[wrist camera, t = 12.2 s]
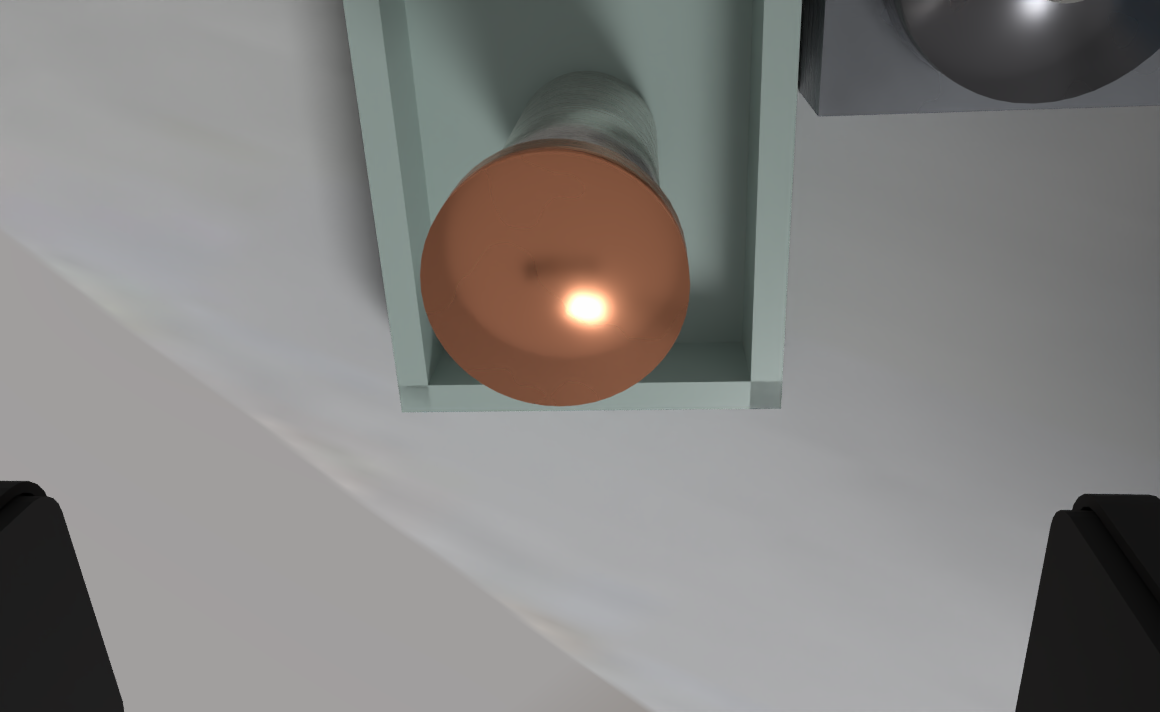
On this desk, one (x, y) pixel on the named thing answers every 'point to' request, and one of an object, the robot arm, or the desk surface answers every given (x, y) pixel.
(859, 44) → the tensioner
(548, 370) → the pin
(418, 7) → the tray
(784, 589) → the desk surface
